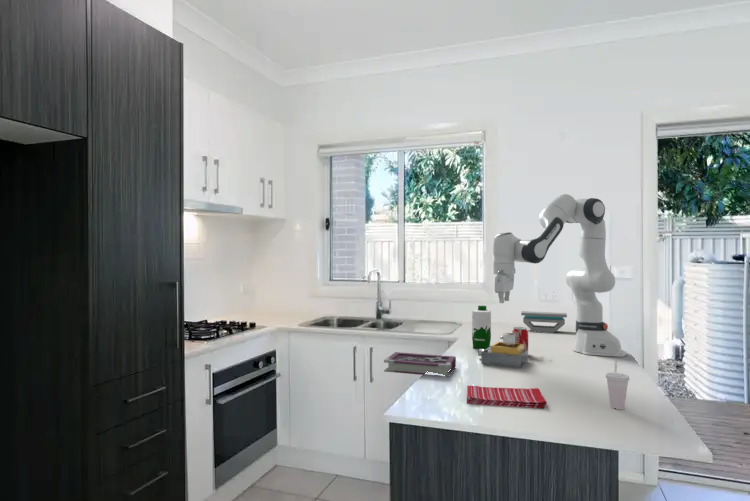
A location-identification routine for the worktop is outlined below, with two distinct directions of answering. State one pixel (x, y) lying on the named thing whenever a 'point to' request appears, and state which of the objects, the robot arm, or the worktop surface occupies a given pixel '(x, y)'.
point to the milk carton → (481, 328)
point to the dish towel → (506, 397)
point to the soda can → (521, 336)
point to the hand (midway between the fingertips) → (504, 302)
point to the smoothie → (617, 388)
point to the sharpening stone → (544, 320)
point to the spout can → (508, 340)
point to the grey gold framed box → (504, 355)
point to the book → (420, 363)
